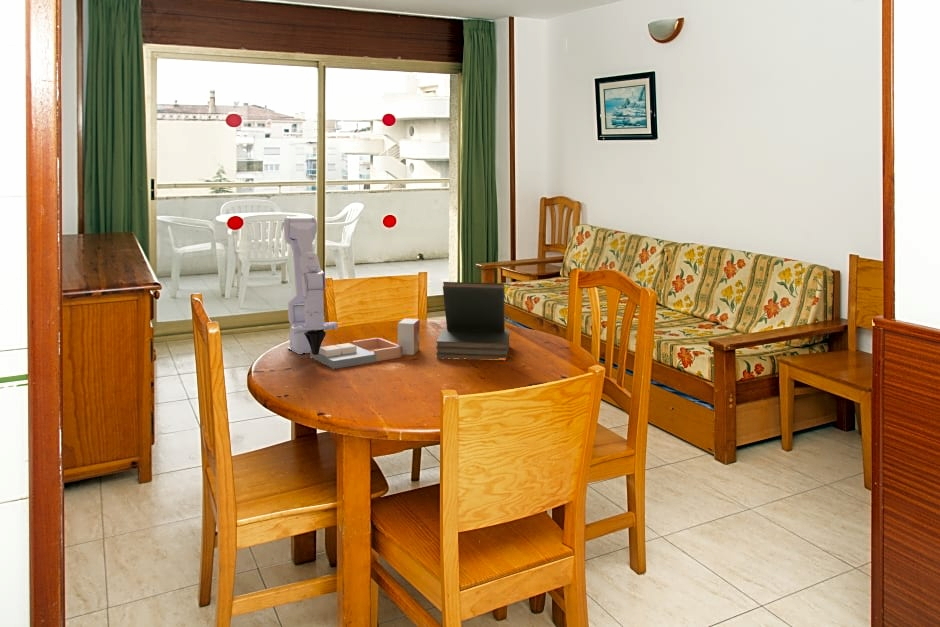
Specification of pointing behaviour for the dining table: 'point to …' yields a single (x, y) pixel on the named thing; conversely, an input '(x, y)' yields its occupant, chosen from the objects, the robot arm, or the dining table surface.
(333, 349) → the tile
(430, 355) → the dining table surface
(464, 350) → the open dark laptop
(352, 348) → the tile
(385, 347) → the tray
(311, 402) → the dining table surface
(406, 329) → the small box
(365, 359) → the board
